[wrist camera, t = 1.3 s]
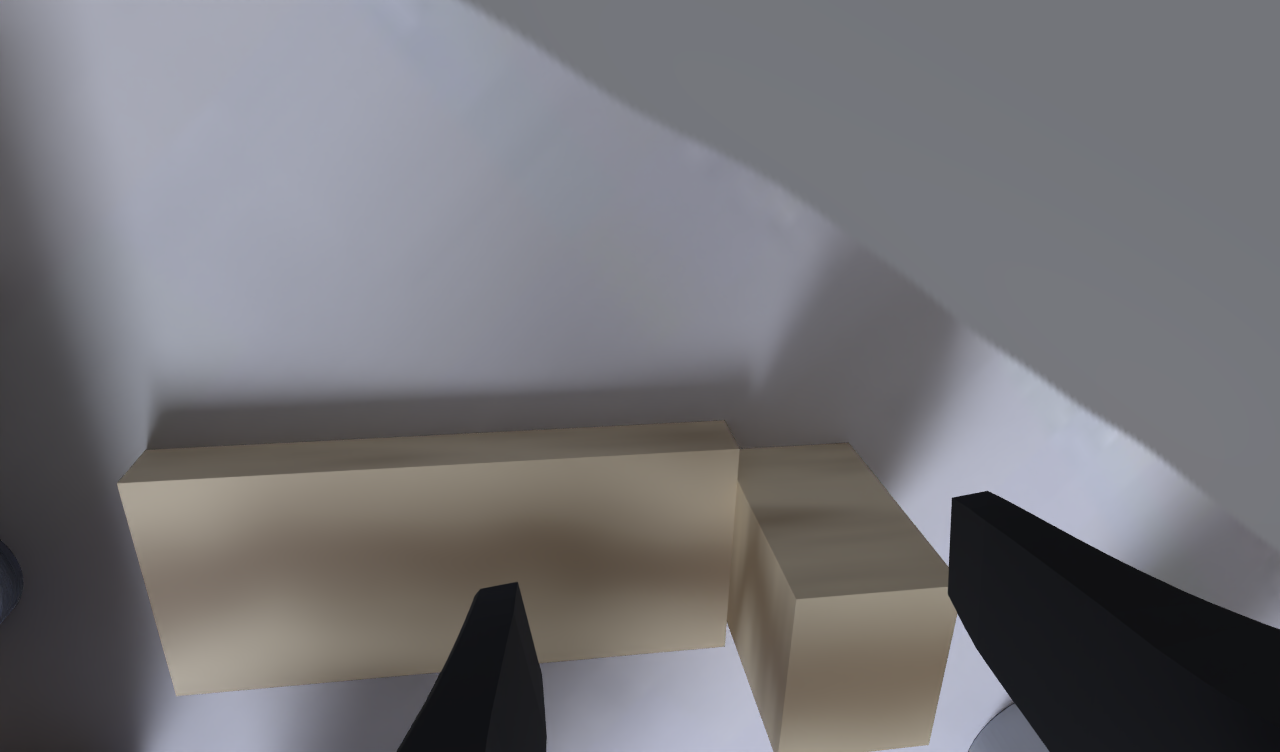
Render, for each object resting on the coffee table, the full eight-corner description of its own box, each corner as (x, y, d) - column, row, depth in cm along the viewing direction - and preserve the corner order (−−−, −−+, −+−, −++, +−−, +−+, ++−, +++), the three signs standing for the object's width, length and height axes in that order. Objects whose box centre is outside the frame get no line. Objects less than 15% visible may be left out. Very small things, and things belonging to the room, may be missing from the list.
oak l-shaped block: (827, 598, 27) (922, 773, 21) (198, 651, 24) (88, 870, 18) (852, 413, 24) (971, 549, 18) (146, 448, 22) (-6, 624, 15)
